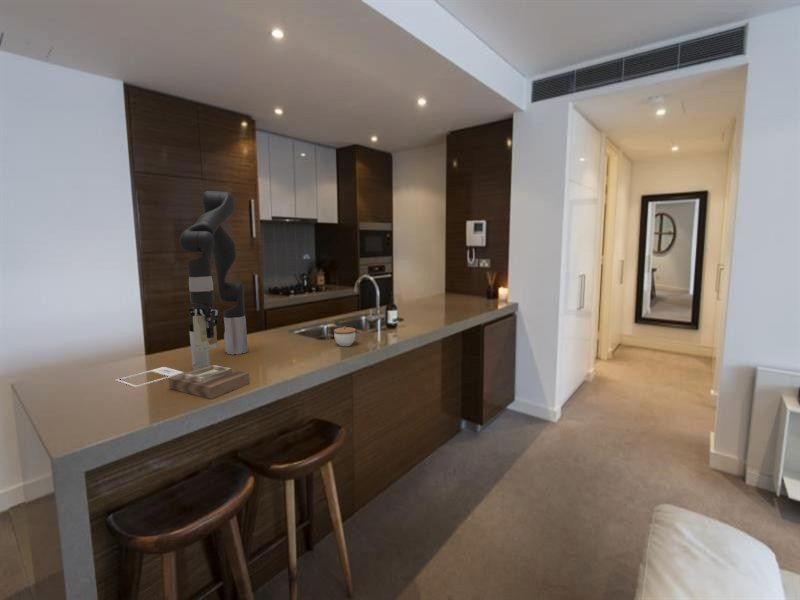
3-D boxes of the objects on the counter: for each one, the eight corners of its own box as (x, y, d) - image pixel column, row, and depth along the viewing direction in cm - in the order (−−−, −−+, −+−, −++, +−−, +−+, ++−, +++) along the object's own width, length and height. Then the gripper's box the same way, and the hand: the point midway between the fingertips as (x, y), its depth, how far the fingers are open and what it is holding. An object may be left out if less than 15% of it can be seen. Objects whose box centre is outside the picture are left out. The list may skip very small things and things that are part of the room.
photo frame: (183, 371, 160) (135, 386, 145) (184, 374, 160) (135, 389, 145) (163, 366, 167) (115, 379, 152) (163, 368, 167) (115, 382, 152)
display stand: (169, 388, 143) (168, 374, 142) (208, 375, 157) (207, 361, 156) (211, 399, 133) (210, 383, 132) (249, 383, 147) (248, 369, 147)
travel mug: (193, 373, 159) (188, 324, 156) (193, 369, 165) (188, 321, 162) (210, 371, 162) (206, 322, 159) (209, 366, 168) (205, 319, 165)
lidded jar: (354, 347, 194) (354, 328, 193) (332, 347, 195) (331, 328, 193) (357, 342, 205) (356, 324, 204) (336, 342, 205) (335, 324, 204)
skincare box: (202, 351, 139) (199, 317, 138) (194, 350, 142) (191, 316, 140) (218, 347, 145) (215, 313, 143) (210, 345, 147) (208, 312, 145)
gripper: (178, 289, 140) (182, 337, 143) (205, 291, 134) (210, 341, 136) (197, 287, 147) (201, 333, 149) (224, 288, 140) (228, 336, 143)
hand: (205, 336), depth 143 cm, fingers closed on skincare box, 4 cm apart
